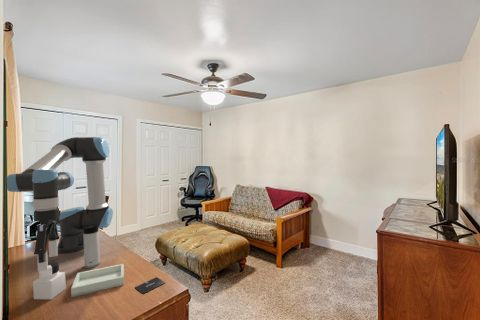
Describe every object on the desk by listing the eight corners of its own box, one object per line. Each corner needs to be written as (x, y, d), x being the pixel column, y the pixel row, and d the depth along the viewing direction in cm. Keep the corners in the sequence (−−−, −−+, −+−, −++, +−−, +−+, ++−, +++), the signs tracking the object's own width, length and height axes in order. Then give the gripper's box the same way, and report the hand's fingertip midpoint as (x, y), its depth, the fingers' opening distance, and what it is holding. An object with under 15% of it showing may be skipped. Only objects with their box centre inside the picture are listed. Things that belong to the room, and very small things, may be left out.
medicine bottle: (49, 288, 96) (47, 259, 95) (66, 288, 96) (64, 259, 95) (33, 299, 89) (31, 268, 88) (51, 299, 89) (50, 268, 88)
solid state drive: (134, 288, 95) (134, 287, 95) (156, 278, 103) (156, 277, 103) (143, 295, 91) (143, 293, 91) (165, 283, 99) (165, 282, 99)
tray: (77, 280, 102) (77, 272, 101) (124, 270, 109) (123, 263, 109) (71, 297, 90) (71, 288, 90) (123, 285, 98) (123, 276, 98)
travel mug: (93, 269, 112) (91, 227, 111) (81, 267, 113) (79, 227, 112) (103, 262, 118) (101, 223, 117) (92, 261, 119) (90, 223, 118)
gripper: (44, 204, 101) (46, 253, 101) (20, 217, 78) (23, 280, 79) (65, 202, 104) (67, 249, 104) (49, 214, 81) (51, 274, 82)
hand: (48, 262), depth 91 cm, fingers open, 13 cm apart
